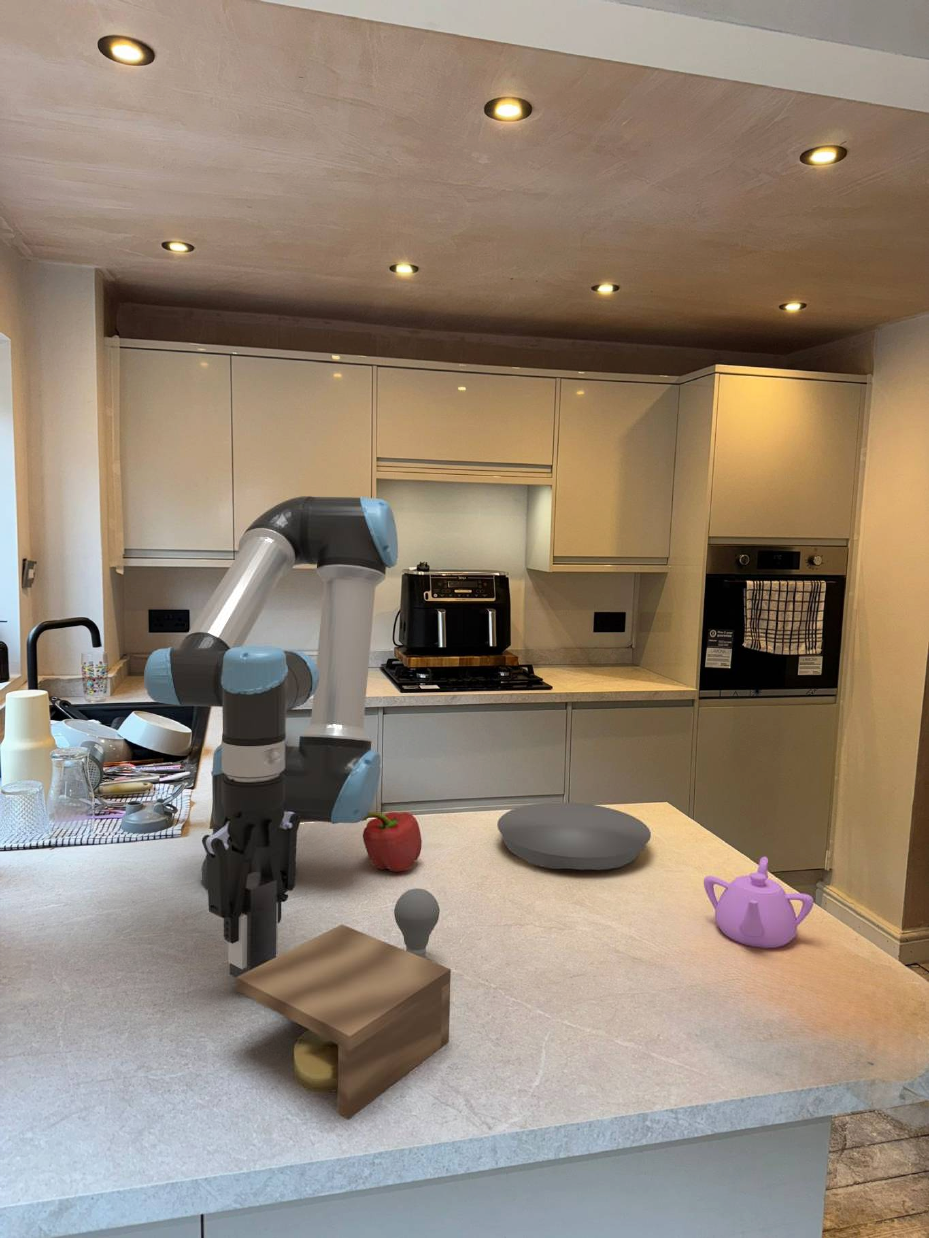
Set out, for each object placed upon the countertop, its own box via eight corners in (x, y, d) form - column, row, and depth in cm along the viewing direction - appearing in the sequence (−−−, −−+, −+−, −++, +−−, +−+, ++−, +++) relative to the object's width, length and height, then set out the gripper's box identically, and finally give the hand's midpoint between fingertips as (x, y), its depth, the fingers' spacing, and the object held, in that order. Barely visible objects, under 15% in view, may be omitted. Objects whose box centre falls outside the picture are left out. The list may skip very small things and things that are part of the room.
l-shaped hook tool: (229, 974, 103) (229, 881, 102) (255, 961, 106) (256, 871, 105) (356, 1041, 89) (358, 935, 88) (381, 1025, 93) (383, 922, 92)
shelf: (236, 1051, 90) (236, 977, 89) (340, 989, 103) (341, 924, 102) (348, 1118, 80) (349, 1036, 79) (448, 1041, 93) (450, 969, 92)
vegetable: (368, 883, 135) (369, 823, 134) (351, 860, 144) (352, 804, 143) (430, 874, 139) (432, 816, 138) (410, 852, 149) (411, 798, 148)
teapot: (761, 909, 129) (765, 854, 128) (822, 952, 116) (826, 891, 115) (694, 916, 126) (697, 860, 125) (748, 961, 113) (752, 899, 112)
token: (279, 1074, 87) (280, 1047, 86) (328, 1043, 92) (328, 1017, 92) (326, 1103, 83) (327, 1074, 82) (374, 1068, 88) (375, 1041, 88)
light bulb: (444, 956, 112) (446, 885, 111) (428, 977, 106) (430, 903, 105) (403, 948, 114) (405, 878, 113) (385, 968, 108) (387, 895, 107)
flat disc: (503, 819, 168) (504, 798, 168) (643, 828, 164) (644, 807, 164) (488, 876, 141) (489, 850, 140) (656, 889, 137) (657, 863, 136)
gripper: (213, 795, 92) (213, 996, 94) (326, 765, 105) (324, 941, 107) (174, 782, 96) (174, 974, 98) (287, 755, 110) (286, 924, 112)
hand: (253, 956), depth 103 cm, fingers closed on l-shaped hook tool, 4 cm apart
